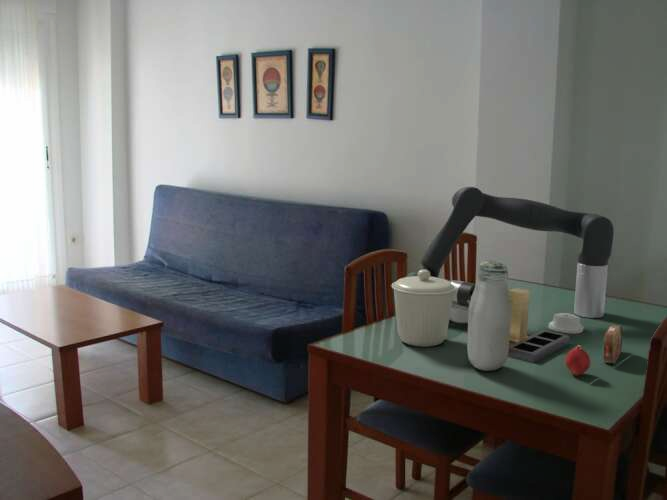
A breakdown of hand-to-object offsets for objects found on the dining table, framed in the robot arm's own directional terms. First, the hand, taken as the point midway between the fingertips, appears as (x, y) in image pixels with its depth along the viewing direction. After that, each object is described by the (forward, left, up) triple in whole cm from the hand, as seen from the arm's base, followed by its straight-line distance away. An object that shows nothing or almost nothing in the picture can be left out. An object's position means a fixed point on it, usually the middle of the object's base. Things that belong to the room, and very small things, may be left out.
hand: (510, 303), depth 187 cm
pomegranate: (+31, +8, -10) cm, 33 cm away
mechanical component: (-8, +20, -11) cm, 24 cm away
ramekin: (-18, -9, -10) cm, 23 cm away
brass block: (+1, +2, -10) cm, 10 cm away
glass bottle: (+25, -13, -10) cm, 31 cm away
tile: (+2, +2, -10) cm, 10 cm away
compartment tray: (+12, +5, -10) cm, 16 cm away
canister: (+4, -26, -10) cm, 28 cm away
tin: (+18, +22, -10) cm, 31 cm away
